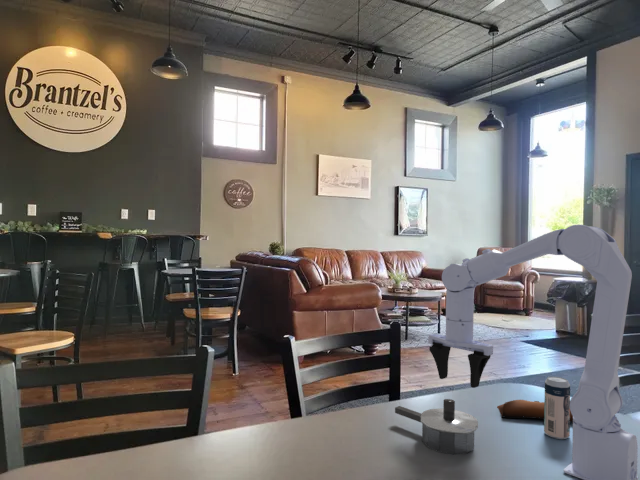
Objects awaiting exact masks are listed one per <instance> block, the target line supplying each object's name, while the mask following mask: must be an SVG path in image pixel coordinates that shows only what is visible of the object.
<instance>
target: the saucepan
mask: <svg viewBox="0 0 640 480" xmlns="http://www.w3.org/2000/svg"><path fill="white" fill-rule="evenodd" d="M394 413H395V414H397V415H400V416H402V417H405V418H408V419H410V420H413V421H416V422H419V423H421V424H422V422H421V414H422V412H418V411H416V410H413V409H409V408H407V407H405V406H401V405H398V406H395V407H394ZM421 431H422V432H421V433H422V434H421V442H422V443H423V445H425V446H426V447H427V448H428V449H431V450H433V451H436V452H439V453H442V454H447V455H463V454H468V453H470V452H471V451H474V450H475V431H474V432H472V433H468V434H448V433H442V432H438V431H435V430H432V429H430V428H428V427H426V426H425V425H423V424H422V428H421Z"/></svg>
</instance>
